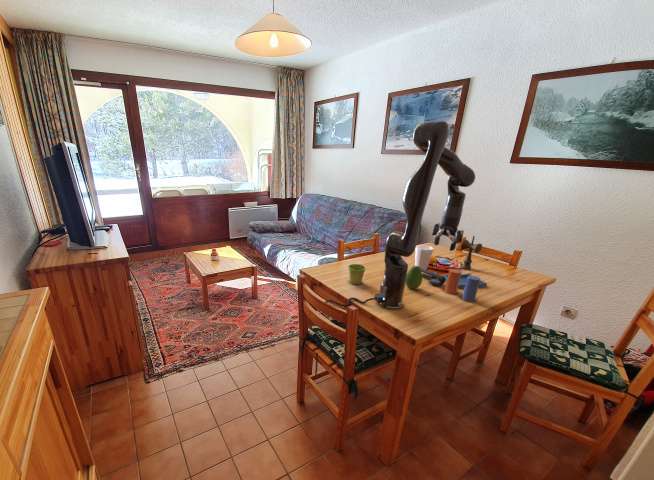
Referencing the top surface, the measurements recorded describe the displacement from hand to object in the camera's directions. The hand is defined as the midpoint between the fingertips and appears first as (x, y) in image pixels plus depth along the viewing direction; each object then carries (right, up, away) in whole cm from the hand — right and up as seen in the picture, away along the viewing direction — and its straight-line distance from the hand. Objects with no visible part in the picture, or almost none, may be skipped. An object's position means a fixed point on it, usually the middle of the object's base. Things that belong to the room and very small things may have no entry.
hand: (443, 247), depth 150 cm
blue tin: (+9, -25, -5) cm, 27 cm away
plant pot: (-40, -17, +14) cm, 45 cm away
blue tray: (+18, -17, +14) cm, 28 cm away
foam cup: (+4, -9, +34) cm, 35 cm away
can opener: (+1, -17, +16) cm, 23 cm away
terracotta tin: (+5, -22, +3) cm, 23 cm away
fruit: (-13, -20, +7) cm, 25 cm away
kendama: (+31, -9, +34) cm, 47 cm away
